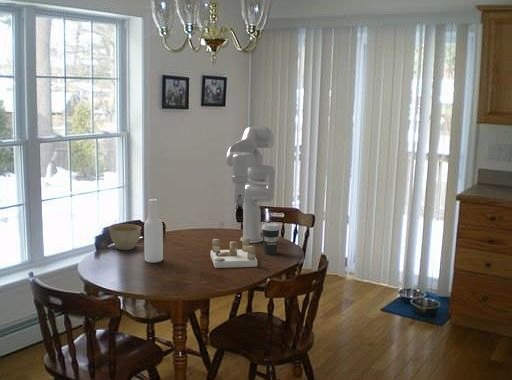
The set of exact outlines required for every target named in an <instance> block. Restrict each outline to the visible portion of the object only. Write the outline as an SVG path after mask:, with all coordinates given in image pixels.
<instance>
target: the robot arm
mask: <svg viewBox="0 0 512 380" xmlns="http://www.w3.org/2000/svg"><path fill="white" fill-rule="evenodd" d="M274 144H275V136H274V133H273V131H272V130H271V129H270V128H269V127H267V126H248V127H246V128H245V129H244V131H243V134H242V136H241V139H240V140H239V141H237V142H235V143H233V144H232V145H230V146H229V148H228V150H227V152H226V157H225V163H226V165H227V166H228V167H229V168H230V167H231V168H232V171H231V172H232V174H231V175H232V176H231V178H232V180H231V182H232V183H233V184H234V185H233V204H236V205H235V206H236V207H235V209H236V210H235V212H236V213H235V214H236V217H240V218H241V217H242V218H243V219H242V222H243V225H242V236H241V237H240V239H239V240H240V242H242V243H243V238H249V239H250V244H256V243H261V242H263V236H261V218H262V217H261V215H262V213H261V212H262V211H261V210H262V209H261V207H260V205H259V204H258V202H259V203H261V202H262V203H271V202H273V200H274V196H275V187H276V186H275V185H276V184H275V183H276V182H275V181H276V171H275V168H274V167H273V166H272V165H270V164H269V165H268V164H263V159H264V158H263V155H262V153H261V151H260V150H259V149H272V147H274ZM248 182H252V183H248ZM258 183H259V184H258ZM261 183H262V184H261ZM263 183H265V184H263Z"/></svg>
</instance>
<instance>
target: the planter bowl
mask: <svg viewBox="0 0 512 380" xmlns="http://www.w3.org/2000/svg"><path fill="white" fill-rule="evenodd" d="M141 233H142V227H141V226H140V225H138V224H137V225H136V224H126V223H125V224H115V225H112V226H109V235H110V238H111V241H112V243H113V244H114V245H115V248H116V249H117V250H120V251H121V250H122V251H127V250H133V249H135V247H136V245H137V244H138V242H139V240H140V237H141Z"/></svg>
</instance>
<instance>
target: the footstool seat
mask: <svg viewBox="0 0 512 380" xmlns="http://www.w3.org/2000/svg"><path fill="white" fill-rule="evenodd" d="M220 252H230V249H220ZM210 258H211V261H212V263H213V266H214V268H215V269H218V268H219V269H220V268H223V269H224V268H225V269H227V268H249V267H250V268H251V267H258V259H257V258H256V256H255V260H248V259H247V258H248V252H245V251H242V248H241V249H237V255H222V256H217V255H216V253H215V252H213V249H211V250H210Z"/></svg>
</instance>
